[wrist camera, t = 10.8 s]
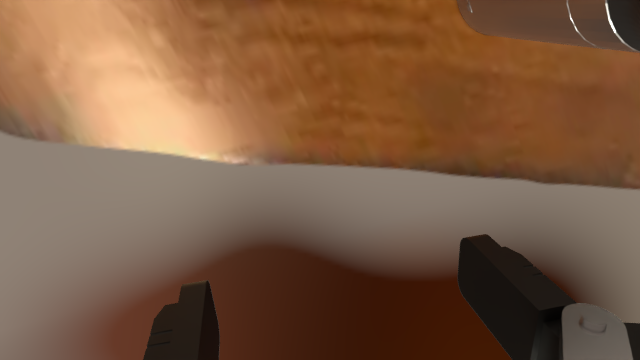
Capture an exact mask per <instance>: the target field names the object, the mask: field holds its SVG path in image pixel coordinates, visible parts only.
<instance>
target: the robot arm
mask: <svg viewBox="0 0 640 360" xmlns="http://www.w3.org/2000/svg"><path fill="white" fill-rule="evenodd" d="M457 3H458V7H459V10H460V12H461V14H462V16H463V18H464V20H465V21H466V22H467V24H468V25H469V26H470V27H471V28H473V29H474V30H476V31H477V32H479V33H482V34H485V35H491V36H499V37H507V38H514V39H523V40H531V41H540V42H549V43H557V44H566V45H575V46H583V47H592V48H601V49H612V50H620V51H629V52H638V53H640V0H457ZM458 285H459V288H460V291H461V293H462V295H463V297H464V298H465V299H466V301H467V302H468V303H469V305H470V306H471V307H472V308H473V310H474V311H475V312H476V314H477V315H478V316H479V317H480V319H481V320H482V321H483V323H484V324H485V325H486V326H487V328H488V329H489V330H490V332H491V333H492V334H493V335H494V337H495V338H496V339H497V341H498V342H499V343H500V344H501V346H502V347H503V348H504V350H505V351H506V352H507V353H508V355H509V356H510V357H511V359H512V360H640V324H638V323H623V322H622V321H621V320H620V319H619V318H618V317H617V316H616V315H614V314H613V313H611V312H609V311H607V310H605V309H603V308H601V307H598V306H595V305H591V304H583V303H576V302H575V301H574V300H573V299H572V298H571V297H569V296H568V295H567V294H566V293H565V292H564V291H563V290H561V289H560V288H559V287H558V286H557V285H556V284H555V283H553V282H552V281H551V280H550V279H549V278H548V277H547V276H545V275H543V274H542V272H541V271H540V270H538V269H537V268H536V267H533V264H532V263H531V262H529V261H528V260H527V259H526V258H525V257H524V256H522V255H521V254H519V253H517V252H515V251H513V250H511V249H509V248H507V247H501V246H500V245H499V244H497V243H496V242H495V241H494V240H493V239H492V238H491V237H490V236H488V235H486V234H484V235H478V236H472V237H466V238H463V239H462V240H461V242H460V253H459V266H458ZM150 334H151V336H150V337H149V341H148V344H147V349H146V352H145V355H144V359H143V360H219V346H220V334H219V325H218V319H217V314H216V310H215V305H214V301H213V296H212V292H211V288H210V283H209V281H208V280H207V281H201V282H195V283H189V284H183V285H182V287H181V291H180V296H179V301H178V303H175V304H169V305H165V306H164V307H163V309H162V310H161V311H160V312H159V314H158V315H157V316H156V318H155V319H154V322H153V326H152V329H151V333H150Z"/></svg>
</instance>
